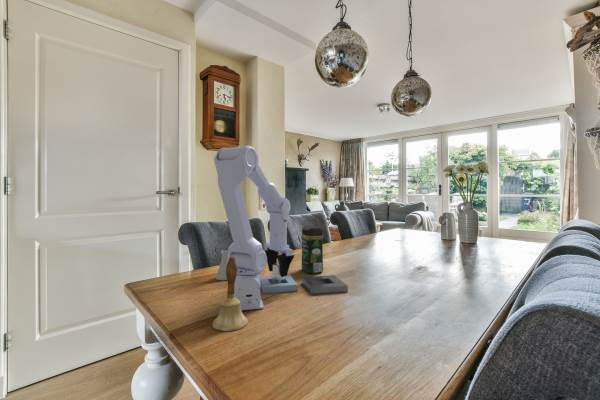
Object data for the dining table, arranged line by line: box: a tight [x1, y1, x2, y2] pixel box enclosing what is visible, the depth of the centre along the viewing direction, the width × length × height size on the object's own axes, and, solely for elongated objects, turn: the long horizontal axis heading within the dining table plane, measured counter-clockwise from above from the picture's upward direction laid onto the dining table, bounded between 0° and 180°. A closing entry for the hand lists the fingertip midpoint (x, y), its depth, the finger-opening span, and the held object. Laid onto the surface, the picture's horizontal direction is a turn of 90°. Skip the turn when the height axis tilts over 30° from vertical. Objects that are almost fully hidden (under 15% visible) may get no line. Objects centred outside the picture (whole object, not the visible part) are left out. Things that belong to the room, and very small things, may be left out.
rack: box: [260, 274, 299, 294], centre depth 96 cm, size 11×11×2 cm
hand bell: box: [211, 257, 249, 332], centre depth 69 cm, size 8×8×16 cm
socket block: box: [301, 274, 349, 296], centre depth 96 cm, size 12×12×2 cm
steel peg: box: [272, 262, 285, 284], centre depth 96 cm, size 4×4×8 cm
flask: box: [215, 249, 229, 281], centre depth 105 cm, size 7×7×10 cm
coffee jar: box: [301, 224, 324, 275], centre depth 116 cm, size 10×8×19 cm
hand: (277, 273), depth 96 cm, fingers open, 7 cm apart
